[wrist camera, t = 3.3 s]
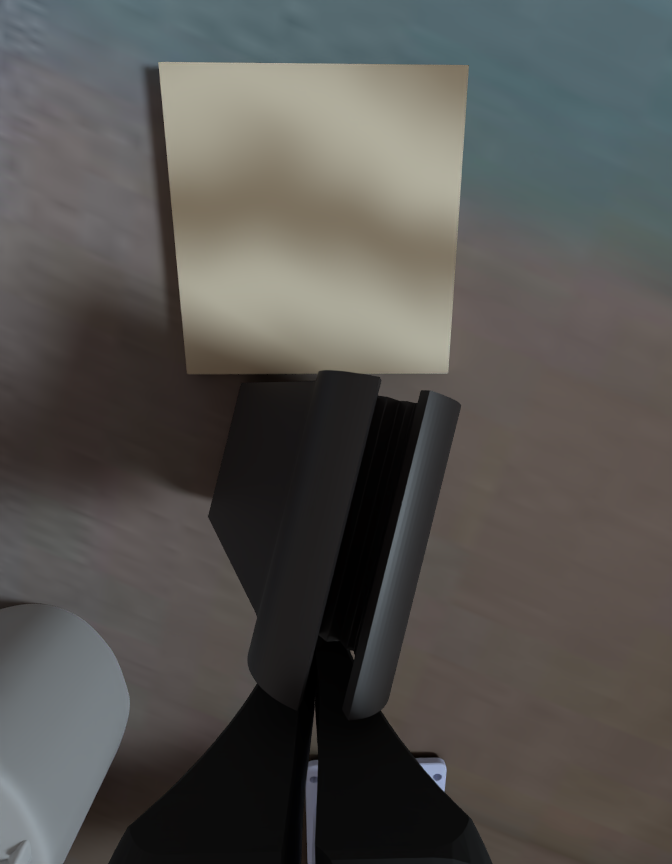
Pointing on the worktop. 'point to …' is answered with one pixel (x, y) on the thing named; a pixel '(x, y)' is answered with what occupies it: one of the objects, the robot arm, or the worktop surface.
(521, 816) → the worktop surface
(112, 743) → the lumpy-topped squat cylinder
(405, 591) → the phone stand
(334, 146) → the birch board
